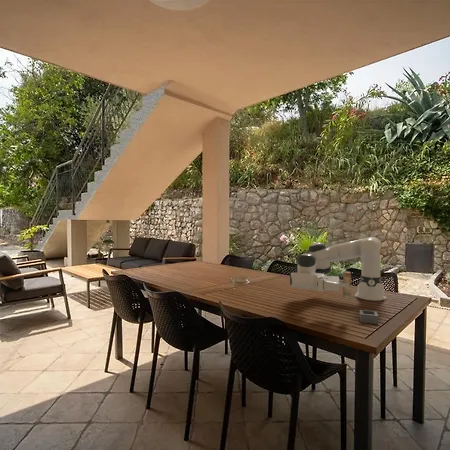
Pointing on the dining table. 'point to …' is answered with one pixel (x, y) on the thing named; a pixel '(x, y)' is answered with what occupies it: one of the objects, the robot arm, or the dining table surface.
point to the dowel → (346, 280)
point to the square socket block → (368, 316)
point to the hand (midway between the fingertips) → (348, 284)
